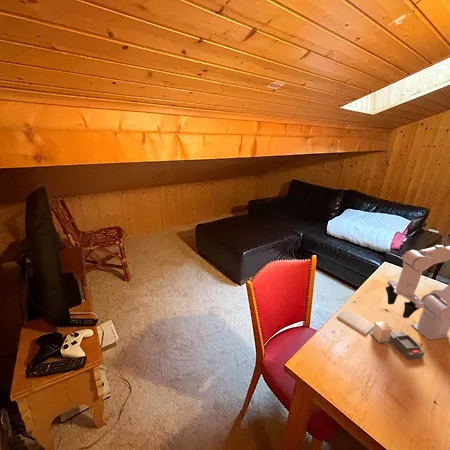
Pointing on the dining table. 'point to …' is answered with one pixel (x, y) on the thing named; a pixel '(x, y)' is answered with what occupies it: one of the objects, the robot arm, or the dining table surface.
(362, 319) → the hard drive
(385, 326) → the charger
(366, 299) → the dining table surface
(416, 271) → the robot arm
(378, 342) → the coaster
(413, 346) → the gray recessed box
